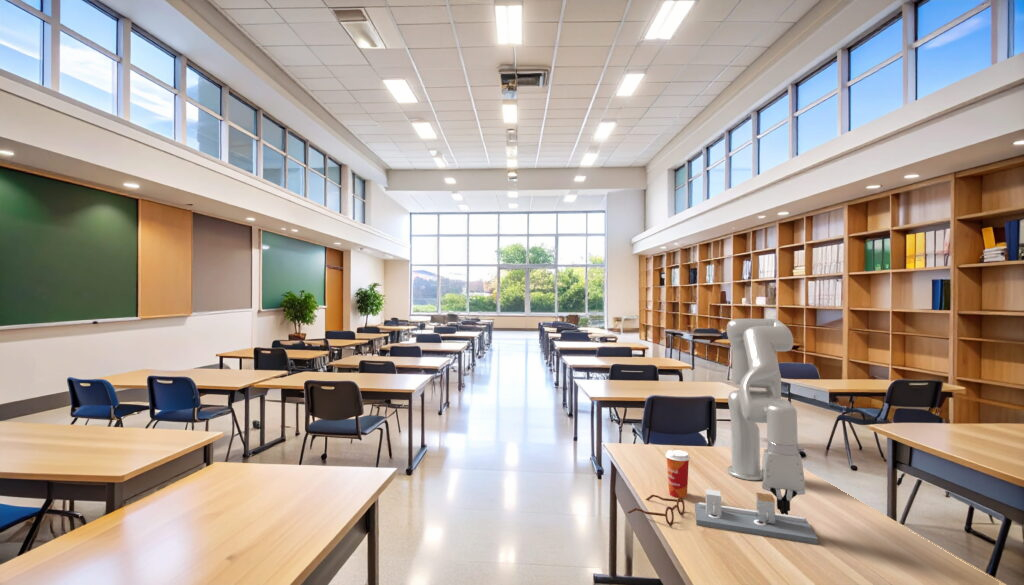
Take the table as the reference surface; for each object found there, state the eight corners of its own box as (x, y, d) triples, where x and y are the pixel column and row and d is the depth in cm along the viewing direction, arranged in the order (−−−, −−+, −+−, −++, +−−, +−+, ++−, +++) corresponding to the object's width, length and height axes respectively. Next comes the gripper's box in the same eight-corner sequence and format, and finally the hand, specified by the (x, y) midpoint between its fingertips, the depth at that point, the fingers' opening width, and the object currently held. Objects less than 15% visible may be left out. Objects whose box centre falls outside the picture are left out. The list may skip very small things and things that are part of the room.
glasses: (668, 528, 127) (668, 511, 127) (627, 514, 136) (627, 497, 136) (685, 512, 137) (685, 496, 137) (646, 500, 146) (646, 484, 146)
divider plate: (695, 507, 140) (694, 483, 140) (805, 523, 129) (805, 497, 129) (696, 524, 128) (696, 498, 129) (817, 544, 118) (817, 515, 118)
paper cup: (662, 490, 152) (661, 449, 153) (683, 489, 153) (683, 448, 153) (672, 500, 145) (671, 457, 145) (694, 499, 145) (694, 456, 146)
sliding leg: (756, 515, 130) (756, 492, 131) (772, 517, 129) (771, 494, 129) (759, 522, 126) (759, 499, 126) (775, 525, 125) (775, 501, 125)
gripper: (808, 446, 128) (810, 510, 127) (750, 441, 133) (752, 502, 132) (816, 455, 121) (818, 522, 120) (755, 449, 126) (756, 514, 125)
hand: (783, 512), depth 126 cm, fingers closed
